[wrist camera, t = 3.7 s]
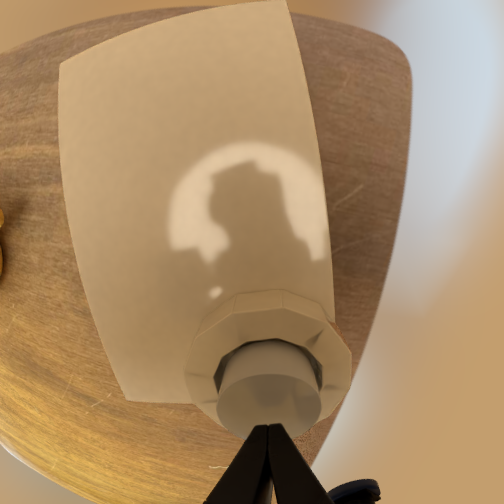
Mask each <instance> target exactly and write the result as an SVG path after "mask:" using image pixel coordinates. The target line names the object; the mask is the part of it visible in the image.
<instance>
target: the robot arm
mask: <svg viewBox="0 0 504 504" xmlns="http://www.w3.org/2000/svg"><path fill="white" fill-rule="evenodd" d="M273 484H274V489H275V494H276V499H277V504H375V502H377V501H379V500H381V497H380V496H379V495H377V494H375V493H374V492H372V491H370V490H369V489H367V488H365V489H362V490H360V491H357V492H355V493H353V494H351V495H348V496H346V497H343V498H341V499H338V500H336V501H332V499H331V498H330V496H329V495H328V494H327V492H326V491H325V489H324V488H323V487H322V485H321V484H320V482H319V481H318V480H317V478H316V476H315V475H314V473H313V472H312V470H311V469H310V467H309V466H308V464H307V463H306V461H305V460H304V458H303V457H302V455H301V453H300V452H299V450H298V449H297V447H296V446H295V444H294V442H293V441H292V439H291V438H290V436H289V434H288V433H287V431H286V430H285V428H284V426H283V425H282V424H281V423H274V424H269V425H267V424H262V425H255V426H254V428H253V429H252V431H251V432H250V434H249V436H248V437H247V439H246V440H245V442H244V444H243V445H242V447H241V448H240V450H239V452H238V453H237V455H236V456H235V458H234V459H233V461H232V462H231V464H230V465H229V467H228V468H227V470H226V471H225V473H224V474H223V476H222V477H221V479H220V480H219V482H218V483H217V484H216V486H215V487H214V489H213V490H212V492H211V493H210V494H209V496H208V497H207V498H206V500H207V501H204V502H203V504H271V499H272V490H273Z"/></svg>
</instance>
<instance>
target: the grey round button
mask: <svg viewBox="0 0 504 504" xmlns="http://www.w3.org/2000/svg"><path fill="white" fill-rule="evenodd" d="M321 411H322V400H321V396H320V392H319V388H318V384H317V380H316V376H315V372H314V368H313V365H312V363H311V361H310V359H309V358H308V356H307V355H306V354H305V353H304V352H302V351H301V350H300V349H298V348H297V347H295V346H293V345H290V344H287V343H284V342H279V341H261V342H256V343H252V344H249V345H247V346H244V347H243V348H241V349H239V350H238V351H236V352H235V353H234V354H233V355H232V356H231V357H230V358H229V359H228V361H227V363H226V364H225V367H224V370H223V375H222V380H221V385H220V390H219V394H218V399H217V405H216V412H217V416H218V418H219V420H220V422H221V423H222V425H223V426H224V427H225V428H226V429H227V430H228V431H229V432H231V433H232V434H234V435H235V436H237V437H239V438H242V439H244V440H246V439H247V437H248V436H249V434H250V432H251V431H252V429H253V428H254V426H255V425H262V424H267V425H269V424H274V423H281V424H282V425H283V426H284V428H285V430H286V431H287V433H288V434H289V436H290V438H291V439H294V438H296V437H298V436H300V435H302V434H304V433H305V432H307V431H308V430H309V429H310V428H312V427H313V425H314V424H315V423H316V422H317V420H318V419H319V417H320V414H321Z"/></svg>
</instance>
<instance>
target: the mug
mask: <svg viewBox="0 0 504 504" xmlns="http://www.w3.org/2000/svg"><path fill="white" fill-rule="evenodd" d="M3 223H4V216H3V212H2V210H1V208H0V228H1V227H2V225H3ZM2 264H3V259H2V250H1V245H0V276H1V272H2Z"/></svg>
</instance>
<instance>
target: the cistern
mask: <svg viewBox="0 0 504 504" xmlns="http://www.w3.org/2000/svg"><path fill="white" fill-rule="evenodd" d="M58 135H59V153H60V166H61V176H62V184H63V192H64V199H65V206H66V212H67V218H68V224H69V229H70V234H71V239H72V244H73V249H74V253H75V257H76V262H77V266H78V270H79V273H80V277H81V281H82V285H83V288H84V292H85V295H86V298H87V302H88V305H89V308H90V311H91V314H92V317H93V320H94V323H95V326H96V329H97V332H98V334H99V337H100V340H101V342H102V345H103V348H104V350H105V353H106V355H107V358H108V360H109V363H110V365H111V367H112V370H113V372H114V374H115V377H116V379H117V381H118V383H119V386H120V388H121V390H122V392H123V394H124V396H125V398H126V400H127V401H136V402H152V403H180V404H195V406H197V407H198V408H199V409H200V410H201V411H202V412H204V413H205V414H206V415H207V416H208V417H210V418H211V419H212V420H213V421H215V422H216V423H217V424H218V425H220V426H221V427H223V428H225V427H224V426H223V425H222V423H221V422H220V420H219V418H218V416H217V412H216V405H217V399H218V394H219V390H220V385H221V380H222V375H223V370H224V367H225V364H226V363H227V361H228V359H229V358H230V357H231V356H232V355H233V354H234V353H235V352H236V351H238V350H239V349H241V348H243V347H244V346H247V345H249V344H252V343H256V342H261V341H279V342H284V343H287V344H290V345H293V346H295V347H297V348H298V349H300V350H301V351H302V352H304V353H305V354H306V355H307V356H308V358H309V359H310V361H311V363H312V365H313V368H314V372H315V376H316V380H317V384H318V388H319V392H320V396H321V400H322V411H321V414H320V417H319V419H318V420H317V422H316V423H318V422H320V421H321V420H323V419H325V418H327V417H329V415H331V413H332V412H333V411H334V409H335V408H336V407H337V405H338V404H339V403H340V402H341V400H342V399H343V397H344V396H345V395H346V393H347V392H348V391H349V389H350V386H351V367H352V354H351V351H350V348H349V346H348V344H347V342H346V340H345V338H344V336H343V334H342V332H341V331H340V329H339V328H338V327H337V325H336V324H335V305H334V285H333V269H332V256H331V244H330V233H329V223H328V213H327V204H326V196H325V188H324V180H323V173H322V165H321V159H320V152H319V146H318V139H317V133H316V128H315V122H314V116H313V111H312V106H311V100H310V95H309V90H308V86H307V81H306V76H305V72H304V67H303V63H302V58H301V54H300V50H299V46H298V42H297V38H296V34H295V30H294V26H293V23H292V19H291V15H290V12H289V8H288V5H287V2H286V0H269V1H258V2H249V3H241V4H234V5H227V6H221V7H216V8H210V9H205V10H201V11H196V12H192V13H187V14H183V15H180V16H176V17H172V18H168V19H165V20H162V21H158V22H155V23H152V24H149V25H146V26H143V27H140V28H137V29H134V30H132V31H129V32H126V33H124V34H121V35H119V36H116V37H114V38H111V39H109V40H106V41H104V42H102V43H100V44H97V45H95V46H93V47H91V48H89V49H87V50H85V51H83V52H81V53H79V54H77V55H75V56H73V57H71V58H69V59H67V60H65V61H63V62H62V63H60V70H59V87H58ZM316 423H315V424H316Z"/></svg>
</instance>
